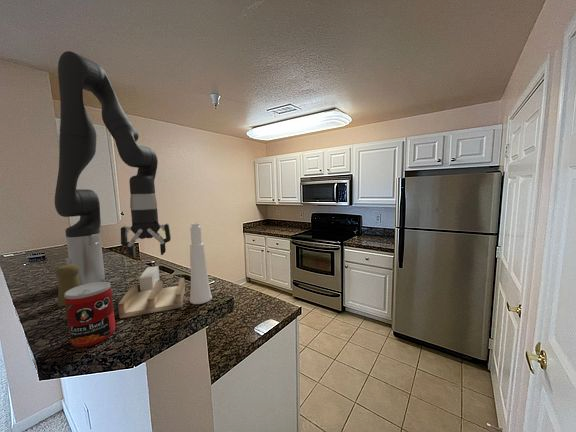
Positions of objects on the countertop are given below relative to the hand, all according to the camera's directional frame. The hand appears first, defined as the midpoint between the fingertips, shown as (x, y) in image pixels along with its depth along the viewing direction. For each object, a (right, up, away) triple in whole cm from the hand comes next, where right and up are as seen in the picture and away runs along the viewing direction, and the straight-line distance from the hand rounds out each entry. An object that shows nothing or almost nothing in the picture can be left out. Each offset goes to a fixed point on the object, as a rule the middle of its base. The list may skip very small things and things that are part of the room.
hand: (148, 255), depth 82 cm
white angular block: (+1, -10, 0) cm, 10 cm away
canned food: (+5, -13, -29) cm, 32 cm away
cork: (-17, -12, -10) cm, 23 cm away
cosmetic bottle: (+22, -11, -12) cm, 28 cm away
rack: (+10, -11, -13) cm, 19 cm away
